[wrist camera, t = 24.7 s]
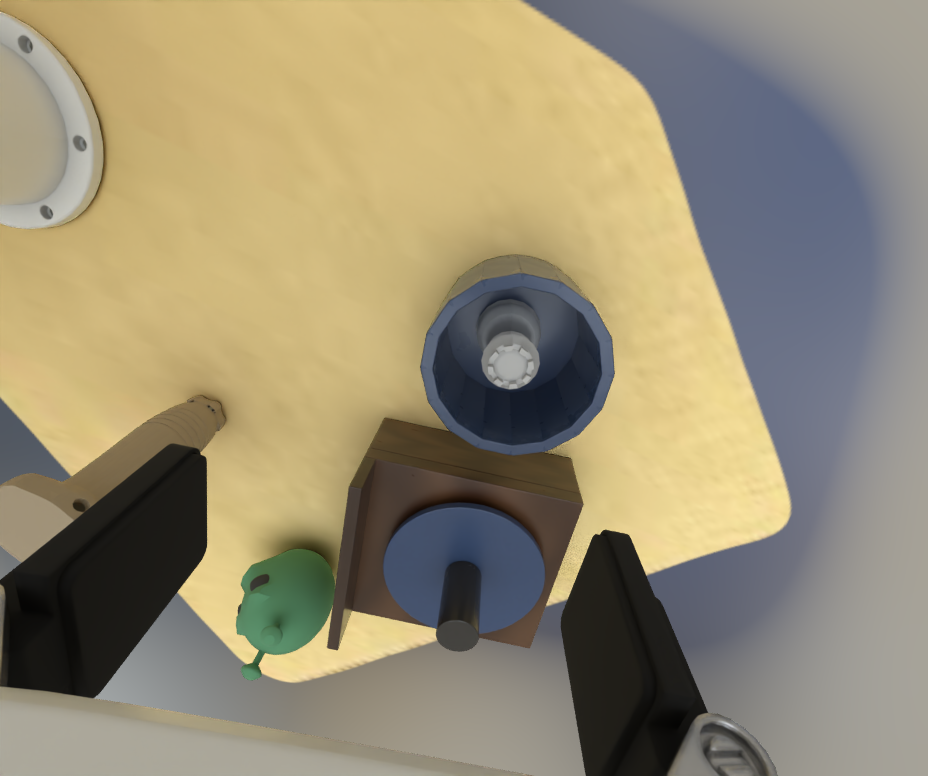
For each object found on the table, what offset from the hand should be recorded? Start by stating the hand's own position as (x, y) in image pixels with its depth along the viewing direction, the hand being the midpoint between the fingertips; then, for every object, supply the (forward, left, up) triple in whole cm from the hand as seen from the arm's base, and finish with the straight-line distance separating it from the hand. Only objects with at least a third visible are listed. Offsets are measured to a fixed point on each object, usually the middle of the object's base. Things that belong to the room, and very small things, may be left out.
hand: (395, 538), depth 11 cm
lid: (+4, -17, -17) cm, 24 cm away
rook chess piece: (+3, -1, -24) cm, 24 cm away
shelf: (+3, -17, -24) cm, 29 cm away
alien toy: (-9, -26, -24) cm, 36 cm away
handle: (-18, -13, -24) cm, 33 cm away
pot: (+4, -1, -24) cm, 24 cm away
